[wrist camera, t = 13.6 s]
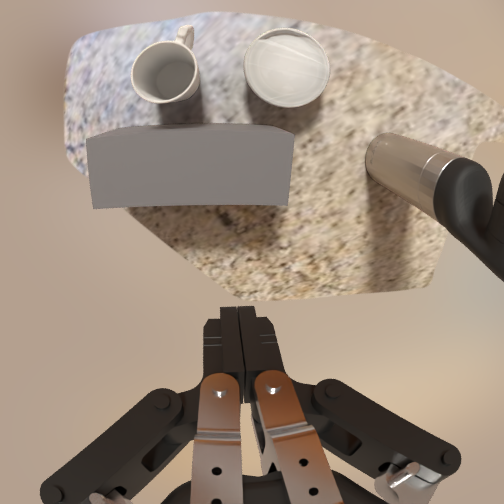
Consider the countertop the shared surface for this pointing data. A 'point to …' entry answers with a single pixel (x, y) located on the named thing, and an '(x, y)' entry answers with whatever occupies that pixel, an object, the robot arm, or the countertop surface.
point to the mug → (167, 69)
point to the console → (190, 165)
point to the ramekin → (286, 67)
